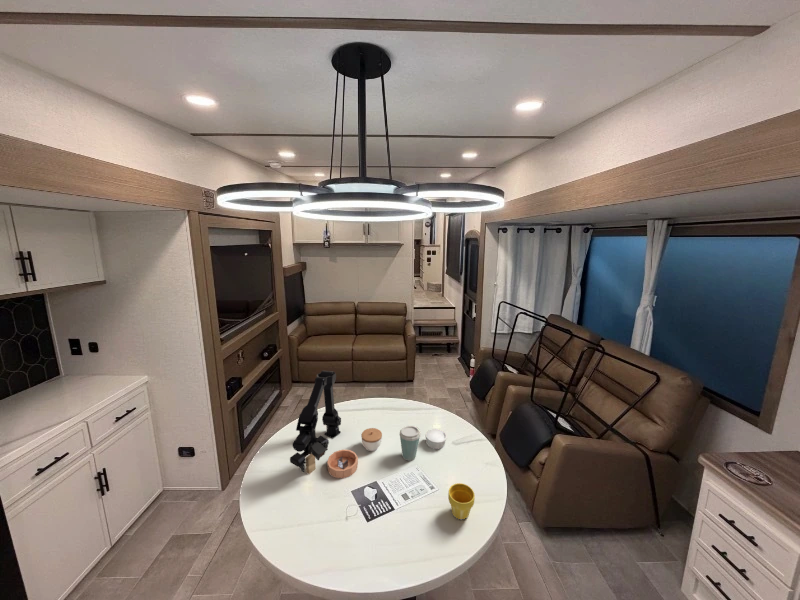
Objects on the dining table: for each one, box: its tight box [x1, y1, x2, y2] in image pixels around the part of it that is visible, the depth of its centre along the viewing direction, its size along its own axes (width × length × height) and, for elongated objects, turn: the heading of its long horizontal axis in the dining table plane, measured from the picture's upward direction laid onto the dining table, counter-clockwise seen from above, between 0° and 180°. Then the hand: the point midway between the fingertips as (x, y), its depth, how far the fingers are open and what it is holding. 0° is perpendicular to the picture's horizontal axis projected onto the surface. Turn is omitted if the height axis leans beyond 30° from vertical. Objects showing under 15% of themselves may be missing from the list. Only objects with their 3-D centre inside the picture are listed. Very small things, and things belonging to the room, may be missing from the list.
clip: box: [337, 457, 348, 469], centre depth 152 cm, size 4×3×3 cm
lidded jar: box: [360, 427, 383, 452], centre depth 165 cm, size 11×11×9 cm
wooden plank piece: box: [305, 453, 317, 475], centre depth 149 cm, size 2×4×8 cm, turn 148°
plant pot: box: [447, 482, 476, 520], centre depth 128 cm, size 10×10×10 cm
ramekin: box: [424, 428, 448, 450], centre depth 169 cm, size 11×11×5 cm
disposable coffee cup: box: [399, 425, 422, 462], centre depth 159 cm, size 11×11×15 cm
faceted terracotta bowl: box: [326, 449, 359, 479], centre depth 152 cm, size 14×14×4 cm
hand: (310, 465), depth 149 cm, fingers open, 9 cm apart
